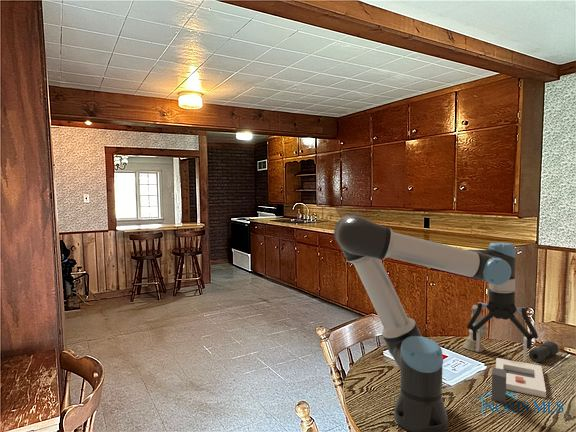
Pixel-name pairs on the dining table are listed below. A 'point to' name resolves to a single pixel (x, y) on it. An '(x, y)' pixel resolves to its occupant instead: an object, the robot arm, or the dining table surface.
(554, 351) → the flashlight
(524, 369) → the socket plate
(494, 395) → the plug
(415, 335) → the robot arm
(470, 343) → the figurine
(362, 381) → the dining table surface
